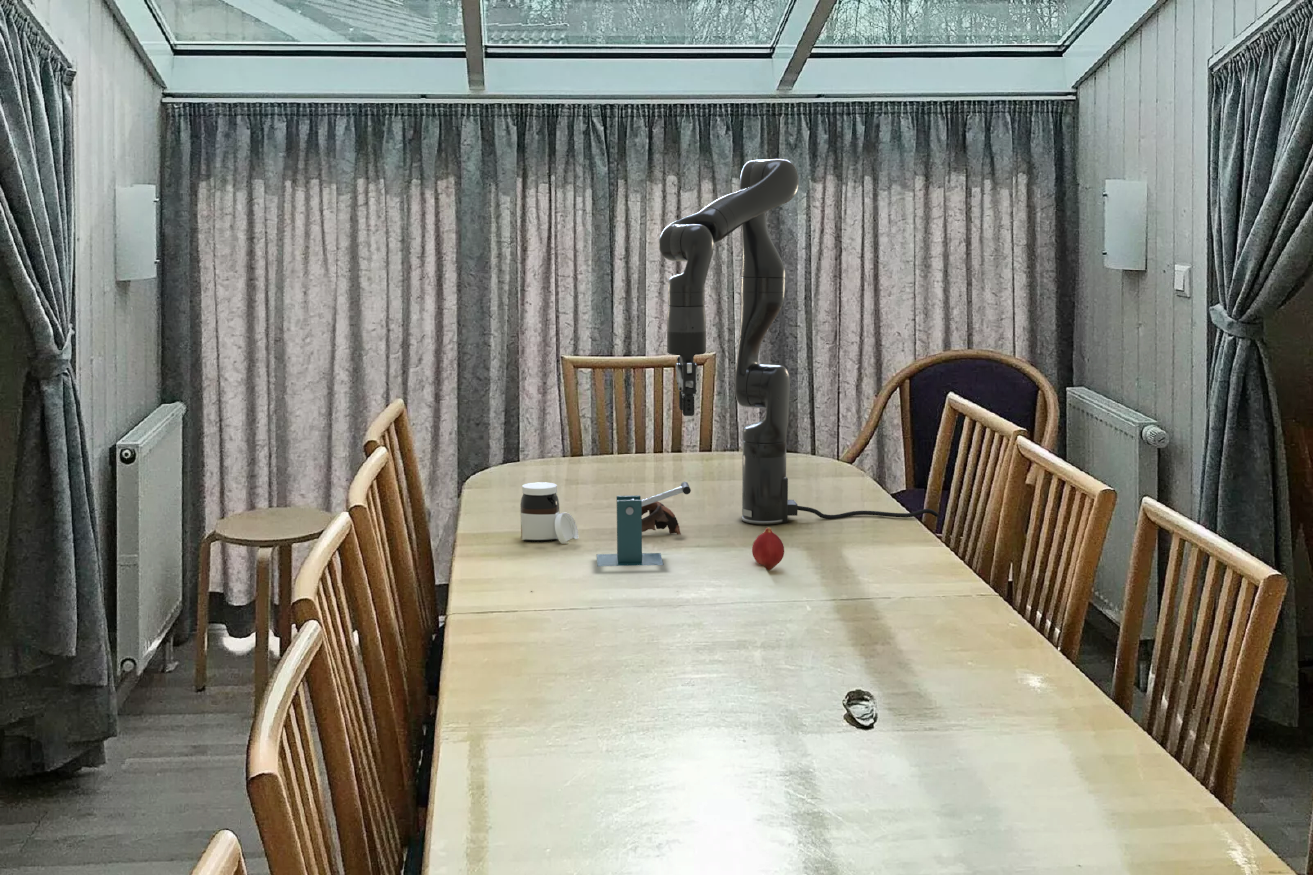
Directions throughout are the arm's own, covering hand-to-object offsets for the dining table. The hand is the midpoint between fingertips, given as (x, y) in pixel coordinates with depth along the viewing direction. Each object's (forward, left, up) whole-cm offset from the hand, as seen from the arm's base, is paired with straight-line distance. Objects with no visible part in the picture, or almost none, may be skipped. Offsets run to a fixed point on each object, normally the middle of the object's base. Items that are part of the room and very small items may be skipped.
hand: (686, 412), depth 268 cm
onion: (-13, +22, -26) cm, 37 cm away
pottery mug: (+6, -7, -26) cm, 28 cm away
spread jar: (+27, -2, -26) cm, 38 cm away
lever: (+7, +17, -15) cm, 23 cm away
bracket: (+12, +17, -26) cm, 33 cm away
